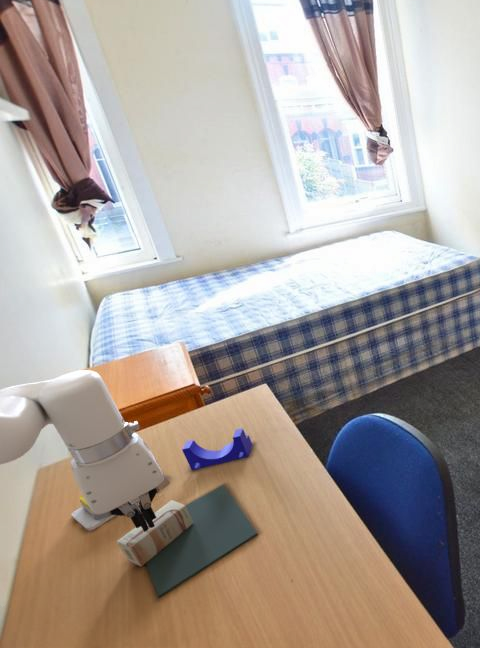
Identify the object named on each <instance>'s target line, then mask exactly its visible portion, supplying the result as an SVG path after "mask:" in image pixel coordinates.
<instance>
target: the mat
mask: <svg viewBox="0 0 480 648" xmlns="http://www.w3.org/2000/svg"><path fill="white" fill-rule="evenodd" d="M185 506H186V508H187V510H188V512H189V514H190V516H191V518H192V520H193V522H194V523H193V524H192V525H191V526H190V527H189V528H187V529H186V530H185V531H184V532H183V533H181V534H180V535H179V536H178V537H177V538H175V539H174V540H173V541H172V542H171V543H169V544H168V545H167V546H166V547H164V548H163V549H162V550H161V551H160V552H159V553H157V554H156V555H155V556H154V557H153V558H151V559H150V560H149V561H148V562H146V563H145V565H146V567H147V570H148V573H149V577H150V578H151V581H152V584H153V586H154V589H155V592H156V595H157V597H158V598H161V597H162V596H164V595H166V594H167V593H169V592H170V591H172V590H173V589H175V588H177V587H178V586H180V585H181V584H183V583H185V582H186V581H187V580H189V579H191V578H192V577H194V576H196V575H197V574H198V573H200V572H202V571H203V570H205V569H206V568H208V567H210V566H211V565H213V564H214V563H216V562H218V561H219V560H221V559H222V558H223V557H226V555H228V554H230V553H231V552H233V551H234V550H236V549H238V548H239V547H240V546H242V545H244V544H245V543H247V542H248V541H250V540H251V539H254V538H255V537H257V536H258V532H257V531H256V529H255V527H254V526H253V525H252V523H251V522H250V520H249V519H248V517H247V516H246V515H245V513H244V512H243V510H242V509H241V507H240V506H239V505H238V503H237V502H236V500H235V499H234V498H233V496H232V495H231V492H229V490H228V489H227V487H226V486H225V485H224V484H222V485H220V486H218V487H217V488H215V489H213V490H211V491H209V492H207V493H206V494H204V495H202V496H200V497H198V498H197V499H195V500H193V501H190V502H189V503H187V504H186V505H185Z"/></svg>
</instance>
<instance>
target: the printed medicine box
mask: <svg viewBox="0 0 480 648" xmlns="http://www.w3.org/2000/svg"><path fill="white" fill-rule="evenodd" d="M154 513H155V515H156V517H157V518H155V519H153V523H154V525H155V526H154V527H153V528H150V527H149V526H148V528H149V529H148V530H147V531H145V532H144V530H143V529H142V527H139V528H136V527H135V526H134V528H133V529H131V530H130V531H129V532H127V533H125V535H124V536H121V538H119V539H118V540H117V541H116V543H117V545H118V547H119V548H120V550H121V551H122V554H123V555H124V557H125V558H126V560H127V561H129V562H130V563H133V564H134V565H137V566H139V567H143V566H144V565H146V562H148V561H149V560H150V559H151V558H153V557H154V556H155V555H156V554H157V553H159V552H160V551H161V550H162V549H163V548H164V547H166V546H167V545H168V544H169V543H171V542H172V541H173V540H174V539H175V538H177V537H178V536H179V535H180V534H181V533H183V532H184V531H185V530H186V529H187V528H189V527H190V526H191V525H192V524H193V523H194V522H193V520H192V518H191V516H190V514H189V512H188V510H187V508H186V505H185V504H183V503H180V502H178V501H176V500H173V499H171V500H170V501H168V502H167V503H165V504H164V505H163V506H162V507H160V508H159V509H158V510H156V511H155V512H154ZM145 521H146V520H145ZM146 523H147V522H146ZM147 525H148V524H147Z"/></svg>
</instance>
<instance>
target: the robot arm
mask: <svg viewBox="0 0 480 648" xmlns="http://www.w3.org/2000/svg"><path fill="white" fill-rule="evenodd" d="M48 425H53V427H54V429H55V430H56V431H57V433H58V435H59V437H60V438H61V440H62V441H63V443H64V445H65V446H66V448H67V450H68V452H69V453H70V455H71V456H72V459H71V461H70V468H71V472H72V474H73V477H74V479H75V482H76V484H77V486H78V489H79V490H80V492H81V496H82V495H83V496H84V498H85V500H86V502H87V504H88V506H89V507H90V509H91V510H92V512H93V516H94V519H95V520H100V519H103V518H106V517H109V516H111V515H116V516H120V517H121V516H122V517H126V518H128V519H130V520H131V522H132V523H133V525H134V528H135V527H136V528H139V527H142V529H143V530H144V532H145V531H147V530H148V529H149V528H148V526H149V527H150V528H153V527H154V526H155V525H154V523H153V519H155V518H157V517H156V515H155V512H154V509H153V508H152V502H153V501H154V499H155V497H156V495H157V493H158V492H159V491H161V490H163V489H164V488H165V487H166V486H168V485H169V484H170V480H169V478H168V477H167V476H166V475H165V474H164V473H163V471H162V469H161V466H160V464H159V462H158V460H157V459H156V457H155V456H154V454H153V453H152V451H151V449H150V448H149V446H148V445H147V443H146V442H145V440H144V439H143V438H142V437H141V436H140V435H139V434H138V433H137V432H136V430H140V429H141V426H140V424H139V422H138V421H137V420H136V421H134V422H126V421H125V419H124V417H123V415H122V413H121V412H120V410H119V408H118V406H117V404H116V402H115V400H114V399H113V396H112V394H111V393H110V391H109V389H108V387H107V385H106V383H105V382H104V380H103V378H102V377H101V375H100V374H99V373H97V371H94V370H88V369H87V370H86V369H83V370H77V371H73V372H69V373H66V374H65V373H64V374H62V375H59V376H58V377H55V378H53V379H48V380H42V381H37V382H29V383H22V384H17V385H11V386H8V387H3V388H1V389H0V465H4V464H9V463H11V462H14V461H16V460H18V459H20V458H21V457H23V456H24V455H26V454H27V453H28V452H30V450H31V449H32V448H33V447H34V445H35V444H36V441H37V439H38V438H39V436H40V434H41V432H42V431H43V429H44V428H45V427H47V426H48ZM137 497H139V499H140V501H138V505H135V504H133V505H132V504H131V503H130V502H129V501H131V500H133V499H135V498H137ZM145 520H146V521H145ZM146 522H147V523H146ZM147 524H148V525H147Z"/></svg>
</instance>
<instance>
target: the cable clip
mask: <svg viewBox="0 0 480 648" xmlns="http://www.w3.org/2000/svg"><path fill="white" fill-rule="evenodd" d="M232 440H233V441H232V442H230V443H228V444H226V445H223V447H222V449H221V450H210V449H206V448H204V447H201V446H200V445H199V444H198V443H197V442H196V441H195V439H191V440H186V442H185V443H184V445H183V447H182V449H181V451H182V453H183V455H184V457H185V459H186V461H187V463H188V465H189V467H190V469H191V471H194V470H198V469H202V468H206V467H211V466H215V465H219V464H223V463H227V462H231V461H237V460H239V459H244V458H248V457H249V455H250V452H251V451H252V448H253V442H252V440H251V437H250V435H249V434H246V432H245V430H244V428H238V429H235V432H234V433H233V436H232Z"/></svg>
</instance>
